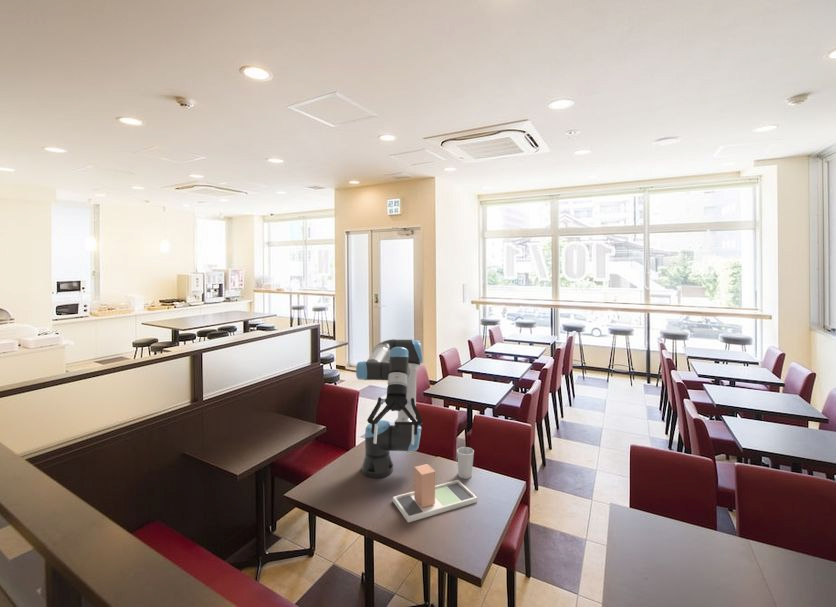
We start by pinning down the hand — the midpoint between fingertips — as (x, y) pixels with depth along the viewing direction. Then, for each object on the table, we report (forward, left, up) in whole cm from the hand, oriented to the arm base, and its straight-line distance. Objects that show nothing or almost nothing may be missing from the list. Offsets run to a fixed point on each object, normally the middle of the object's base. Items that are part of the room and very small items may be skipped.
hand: (393, 443), depth 145 cm
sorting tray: (-13, +24, -36) cm, 45 cm away
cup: (-26, +47, -36) cm, 65 cm away
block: (-13, +19, -34) cm, 41 cm away
